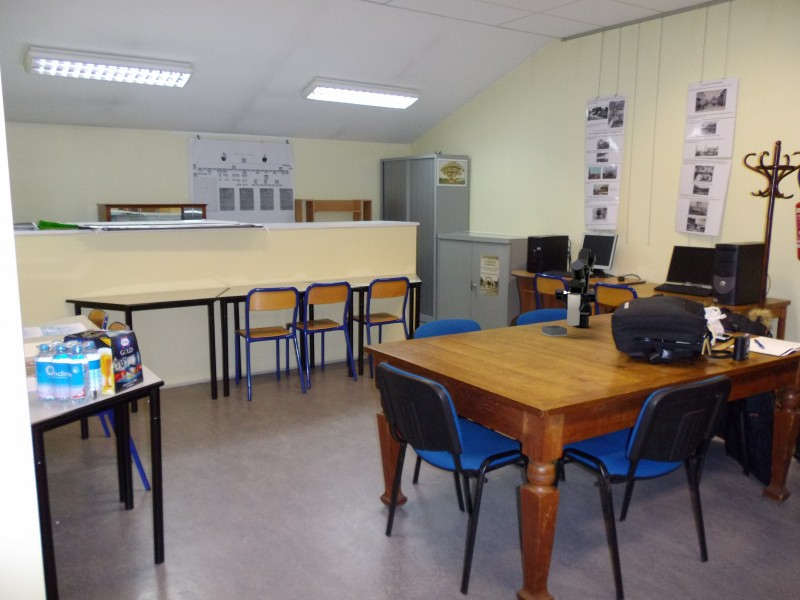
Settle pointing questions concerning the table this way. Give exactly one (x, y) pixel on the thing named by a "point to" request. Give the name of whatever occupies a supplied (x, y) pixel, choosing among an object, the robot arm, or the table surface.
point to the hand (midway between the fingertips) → (573, 309)
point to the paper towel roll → (573, 309)
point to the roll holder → (554, 331)
